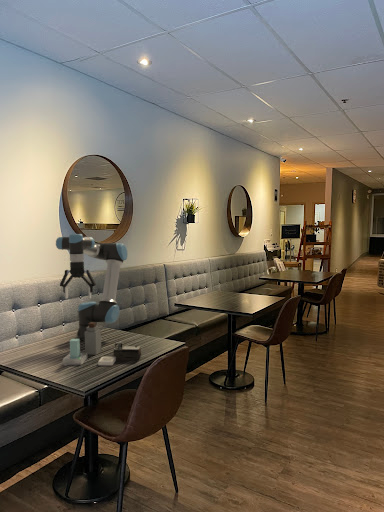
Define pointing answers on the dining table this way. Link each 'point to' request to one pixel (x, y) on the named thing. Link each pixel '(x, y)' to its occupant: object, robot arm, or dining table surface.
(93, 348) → the perfume bottle
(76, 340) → the plug
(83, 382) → the dining table surface
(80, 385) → the dining table surface
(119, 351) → the camera
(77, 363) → the block
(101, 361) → the holster
